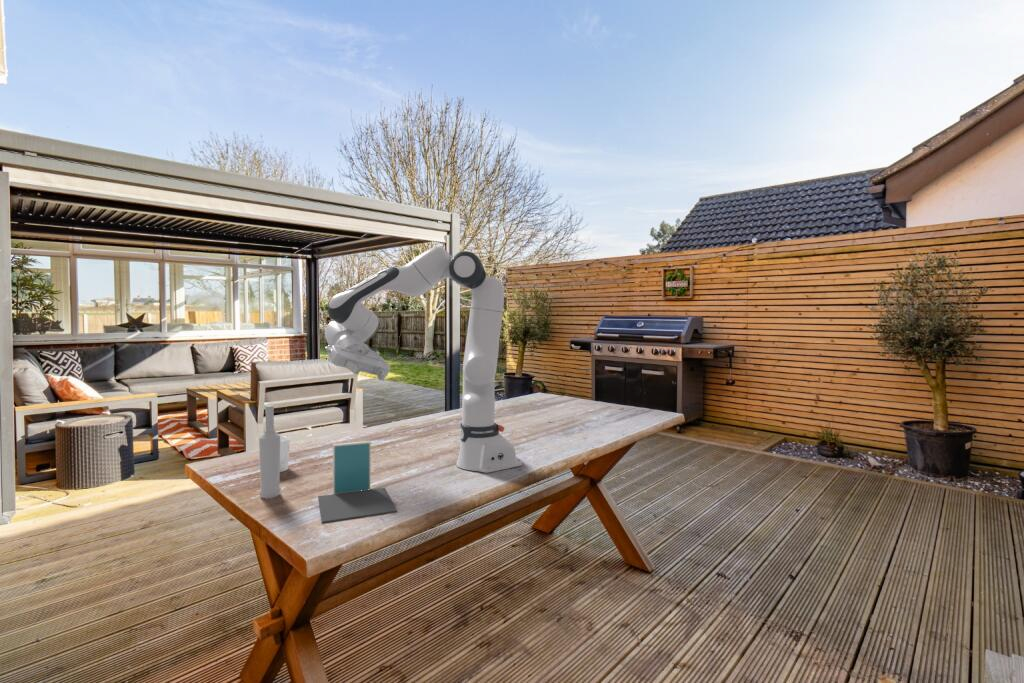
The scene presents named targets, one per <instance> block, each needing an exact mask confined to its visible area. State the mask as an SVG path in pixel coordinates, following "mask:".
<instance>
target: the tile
mask: <svg viewBox="0 0 1024 683" xmlns="http://www.w3.org/2000/svg"><path fill="white" fill-rule="evenodd" d="M371 448H372V447H371V441H370V440H367V441H366V440H365V441H353V442H343V443H332V494H339V493H347V492H354V491H361V490H368V489H371Z"/></svg>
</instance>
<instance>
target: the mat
mask: <svg viewBox="0 0 1024 683" xmlns="http://www.w3.org/2000/svg"><path fill="white" fill-rule="evenodd" d="M317 497H318V506H319V507H318V508H319V513H320V520H321V524H326V523H333V522H340V521H346V520H352V519H358V518H365V517H372V516H378V515H384V514H385V515H386V514H390V513H391V514H393V513H397V512H398V509H397V508H396V506H395V504H394V502H393V500H392V498H391V496H390V495H389V493H388V491H387V489H386V487H378V488H370V490H362V491H354V492H347V493H339V494H333V493H332V494H325V495H318V496H317Z"/></svg>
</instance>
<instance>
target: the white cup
mask: <svg viewBox="0 0 1024 683" xmlns="http://www.w3.org/2000/svg"><path fill="white" fill-rule="evenodd" d="M290 443H291V437H289V436H286V435H283V436H282V435H280V473H283V472H285V471H287V470H289V460H290V451H291V450H290V446H291V444H290Z"/></svg>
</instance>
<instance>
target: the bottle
mask: <svg viewBox="0 0 1024 683" xmlns="http://www.w3.org/2000/svg"><path fill="white" fill-rule="evenodd" d="M274 410H275V406H274V404H273V405H272V404H271V405H270V404H267V405H265V430H264V431H263V433H262V434H261V435H260V436H259V438H258V439H259V440H258V443H259V472H260V473H259V474H260V476H259V478H260V480H259V481H260V489H259V496H260V498H261V499H264V498H265V500H267V499H268V498H269V499H273V497H274V498H277V497H279V496H280V495H281V487H280V479H281V477H280V476H281V475H280V474H281V472H280V436H281V435H280V434H279V433H277V432H276V430H275V429H274V428H275V425H274V424H275V423H274V422H275V421H274V419H275V418H274V417H275V415H274V412H275V411H274ZM278 495H279V496H278ZM276 496H277V497H276Z"/></svg>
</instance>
